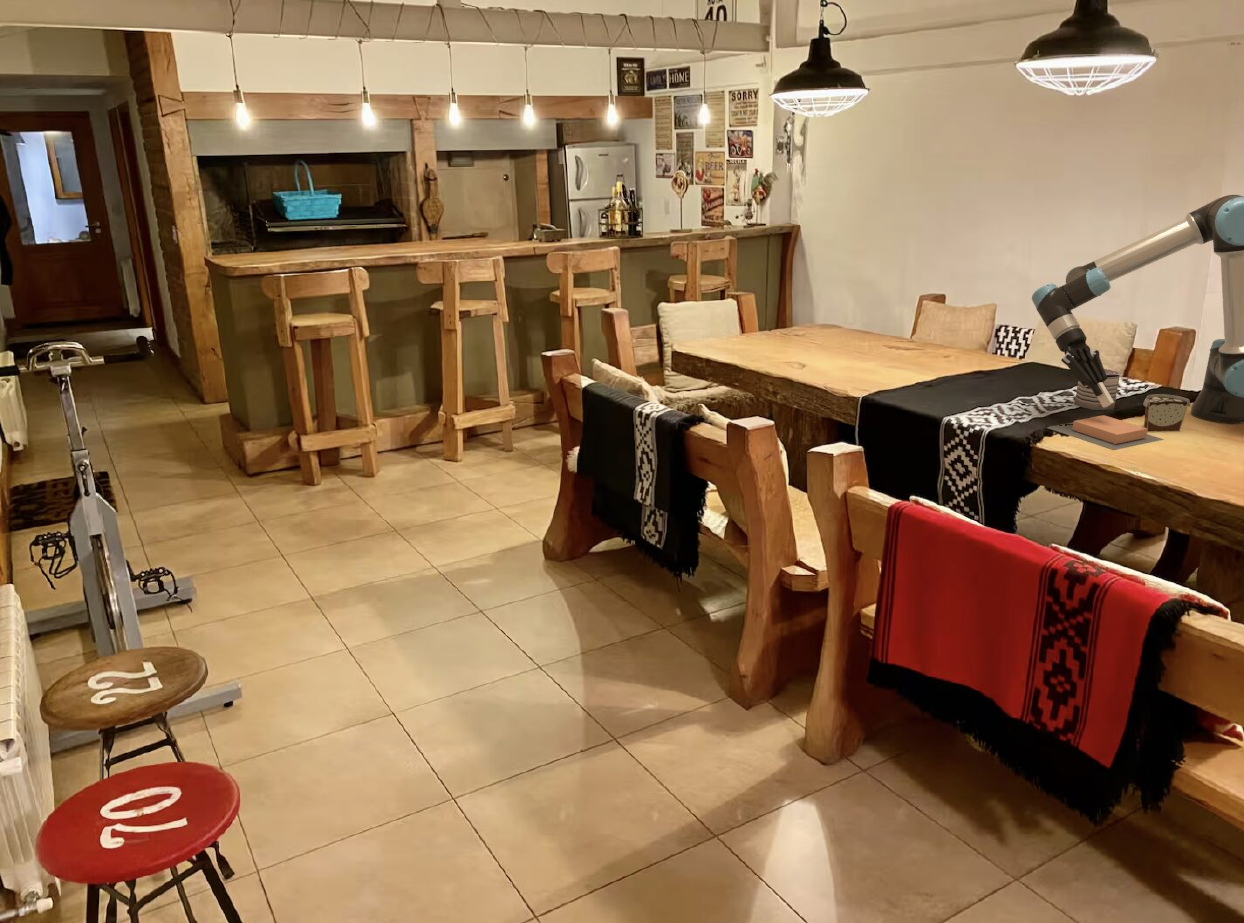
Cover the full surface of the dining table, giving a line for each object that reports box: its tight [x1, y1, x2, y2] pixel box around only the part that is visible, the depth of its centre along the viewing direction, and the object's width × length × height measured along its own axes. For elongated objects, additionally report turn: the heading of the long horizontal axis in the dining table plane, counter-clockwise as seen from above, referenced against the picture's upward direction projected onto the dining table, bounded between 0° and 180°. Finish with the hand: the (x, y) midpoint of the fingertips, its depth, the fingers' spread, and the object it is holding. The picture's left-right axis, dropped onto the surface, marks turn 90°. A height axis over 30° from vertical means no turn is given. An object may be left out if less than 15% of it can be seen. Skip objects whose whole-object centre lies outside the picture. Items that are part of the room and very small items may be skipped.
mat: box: [1045, 421, 1165, 451], centre depth 260 cm, size 20×22×1 cm
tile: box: [1072, 414, 1149, 444], centre depth 258 cm, size 12×3×14 cm
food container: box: [1142, 393, 1191, 432], centre depth 263 cm, size 12×6×10 cm, turn 92°
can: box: [1074, 368, 1122, 411], centre depth 285 cm, size 11×11×12 cm
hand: (1108, 404), depth 257 cm, fingers closed
